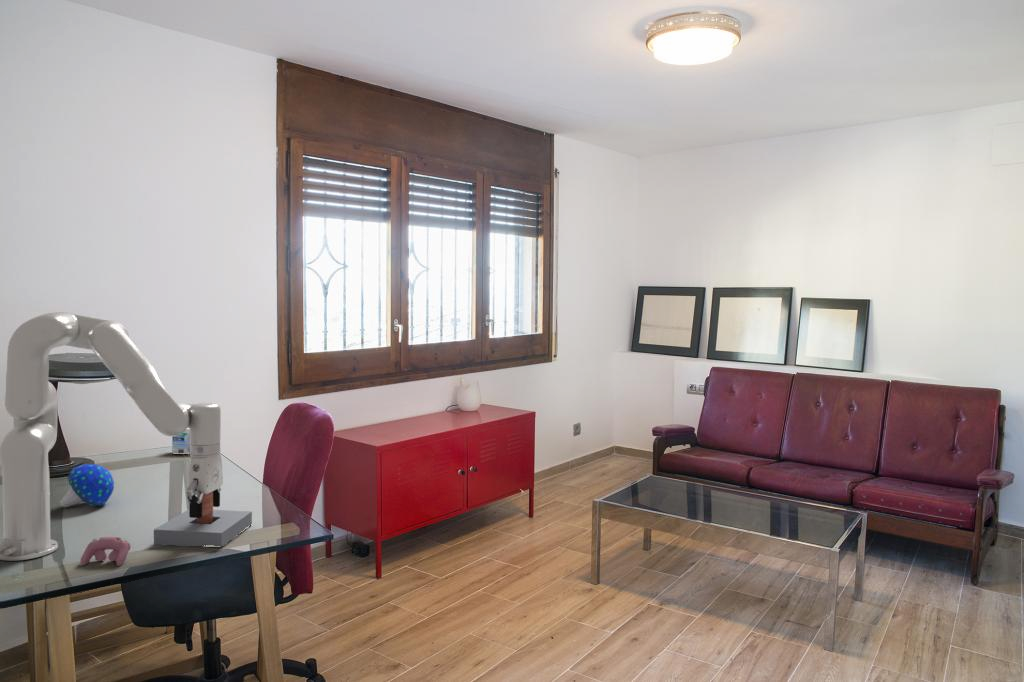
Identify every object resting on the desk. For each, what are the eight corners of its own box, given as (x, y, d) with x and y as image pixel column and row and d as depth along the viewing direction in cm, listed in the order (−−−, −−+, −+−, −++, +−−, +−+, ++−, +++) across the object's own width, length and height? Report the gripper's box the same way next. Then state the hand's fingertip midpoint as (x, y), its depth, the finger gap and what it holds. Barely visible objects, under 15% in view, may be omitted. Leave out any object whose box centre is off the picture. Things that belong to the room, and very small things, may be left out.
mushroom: (46, 478, 209) (92, 447, 213) (80, 508, 216) (124, 477, 220) (42, 500, 197) (91, 467, 201) (79, 531, 204) (125, 498, 208)
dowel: (208, 537, 185) (208, 493, 185) (193, 536, 185) (194, 492, 185) (215, 532, 189) (215, 489, 189) (201, 531, 189) (201, 488, 189)
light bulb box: (171, 455, 276) (171, 428, 275) (178, 451, 283) (178, 425, 282) (199, 455, 277) (199, 428, 276) (205, 451, 284) (205, 425, 283)
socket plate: (221, 548, 178) (221, 532, 178) (153, 544, 179) (153, 529, 179) (251, 525, 196) (251, 511, 196) (190, 522, 197) (190, 508, 197)
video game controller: (128, 567, 168) (135, 537, 171) (120, 565, 164) (126, 535, 166) (86, 567, 167) (93, 537, 170) (77, 565, 163) (84, 534, 166)
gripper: (202, 457, 177) (202, 522, 178) (233, 443, 194) (233, 503, 195) (174, 456, 178) (174, 521, 179) (207, 442, 195) (207, 501, 196)
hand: (205, 511), depth 187 cm, fingers open, 9 cm apart
